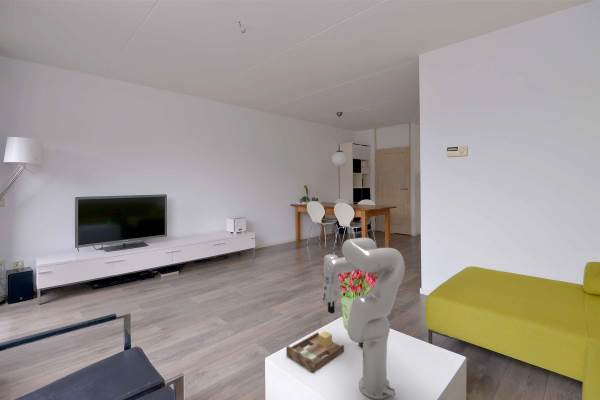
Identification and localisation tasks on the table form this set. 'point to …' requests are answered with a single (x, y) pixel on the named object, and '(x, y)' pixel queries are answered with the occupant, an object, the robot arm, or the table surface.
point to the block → (325, 339)
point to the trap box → (313, 353)
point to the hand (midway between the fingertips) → (331, 312)
